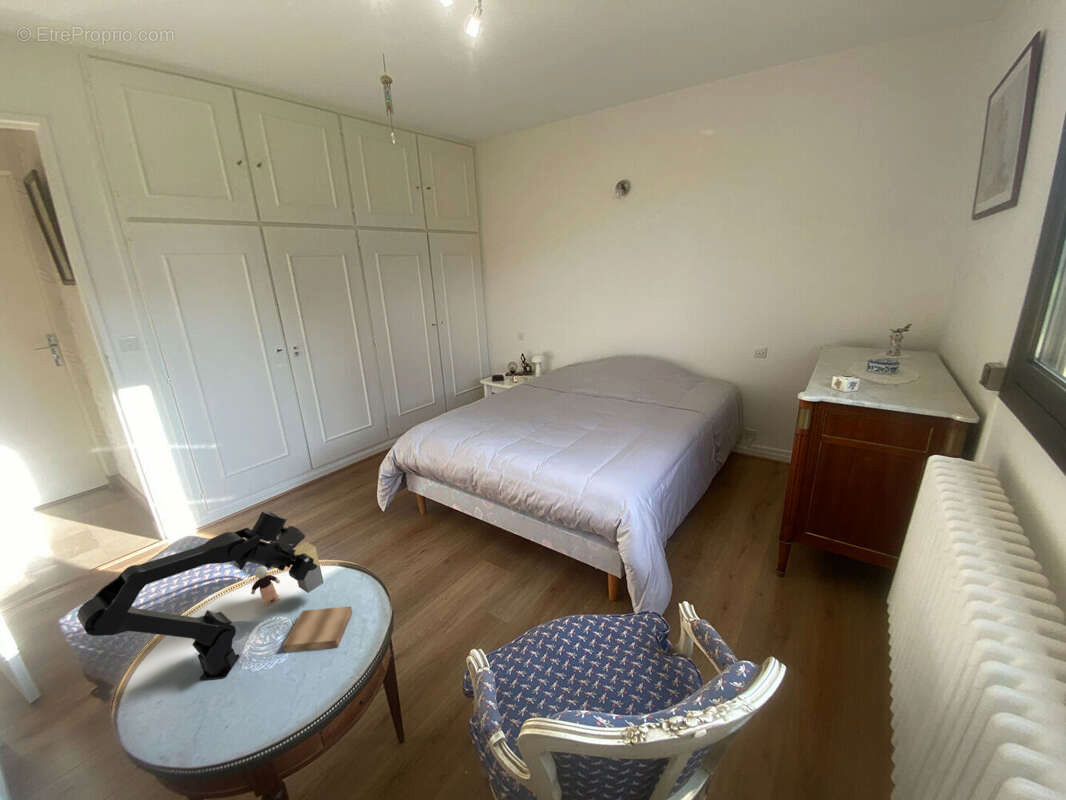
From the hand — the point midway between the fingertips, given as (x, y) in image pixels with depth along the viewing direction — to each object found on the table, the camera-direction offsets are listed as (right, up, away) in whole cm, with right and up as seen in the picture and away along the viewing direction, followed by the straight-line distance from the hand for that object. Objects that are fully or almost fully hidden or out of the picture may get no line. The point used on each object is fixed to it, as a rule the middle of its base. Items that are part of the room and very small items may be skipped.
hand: (311, 563), depth 129 cm
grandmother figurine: (-15, -14, +4) cm, 21 cm away
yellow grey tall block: (-1, -7, +1) cm, 7 cm away
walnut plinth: (+7, -16, -8) cm, 19 cm away
